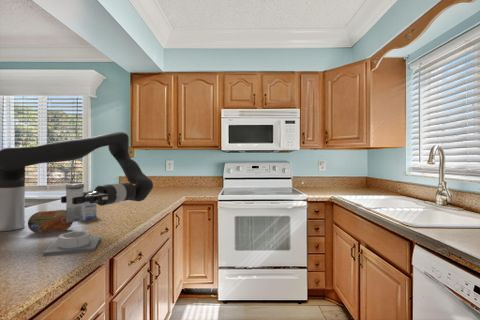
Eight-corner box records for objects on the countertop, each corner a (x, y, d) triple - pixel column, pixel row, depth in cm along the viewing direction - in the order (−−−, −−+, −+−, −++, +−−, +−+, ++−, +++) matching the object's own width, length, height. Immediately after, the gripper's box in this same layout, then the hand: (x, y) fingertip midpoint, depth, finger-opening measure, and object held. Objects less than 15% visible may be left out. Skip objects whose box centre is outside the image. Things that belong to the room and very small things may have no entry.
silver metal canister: (63, 222, 91) (63, 185, 90) (67, 218, 96) (67, 183, 95) (82, 221, 92) (82, 185, 92) (85, 217, 97) (85, 183, 97)
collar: (42, 255, 85) (42, 242, 85) (56, 242, 98) (56, 230, 98) (94, 251, 90) (94, 238, 90) (100, 238, 103) (100, 228, 103)
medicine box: (84, 220, 131) (85, 202, 131) (76, 220, 132) (76, 201, 132) (96, 217, 139) (96, 199, 139) (88, 216, 140) (89, 199, 139)
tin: (27, 234, 108) (27, 212, 108) (29, 232, 110) (29, 211, 110) (73, 230, 115) (73, 209, 114) (73, 228, 117) (73, 208, 117)
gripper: (97, 183, 110) (53, 187, 94) (124, 185, 104) (82, 190, 88) (97, 202, 110) (53, 210, 94) (124, 205, 104) (82, 214, 89)
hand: (67, 200), depth 91 cm, fingers closed on silver metal canister, 5 cm apart
